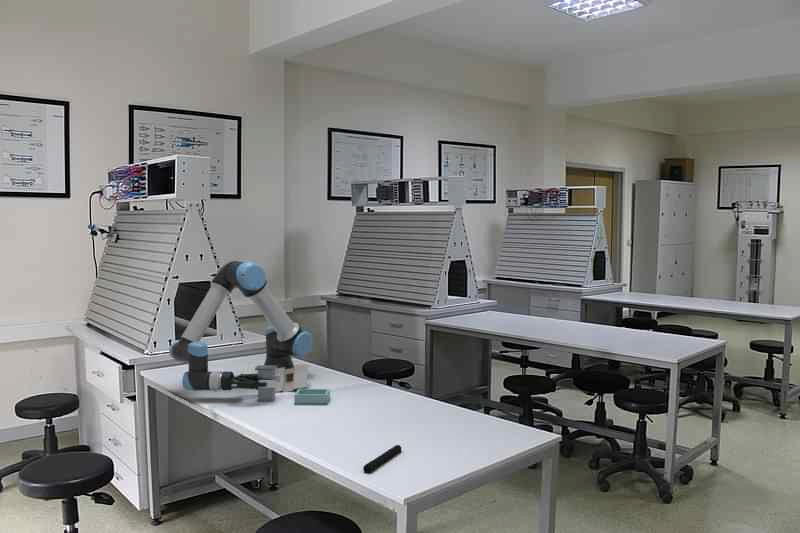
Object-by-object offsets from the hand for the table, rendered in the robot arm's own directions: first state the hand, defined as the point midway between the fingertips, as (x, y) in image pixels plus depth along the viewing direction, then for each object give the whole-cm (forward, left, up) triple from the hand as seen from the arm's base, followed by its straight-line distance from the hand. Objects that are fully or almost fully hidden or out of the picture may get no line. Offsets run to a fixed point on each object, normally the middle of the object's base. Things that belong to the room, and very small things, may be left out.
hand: (277, 381), depth 248 cm
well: (+1, +14, -8) cm, 17 cm away
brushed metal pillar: (0, -5, -8) cm, 9 cm away
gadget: (+63, +46, -9) cm, 79 cm away
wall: (-19, +1, -8) cm, 20 cm away
